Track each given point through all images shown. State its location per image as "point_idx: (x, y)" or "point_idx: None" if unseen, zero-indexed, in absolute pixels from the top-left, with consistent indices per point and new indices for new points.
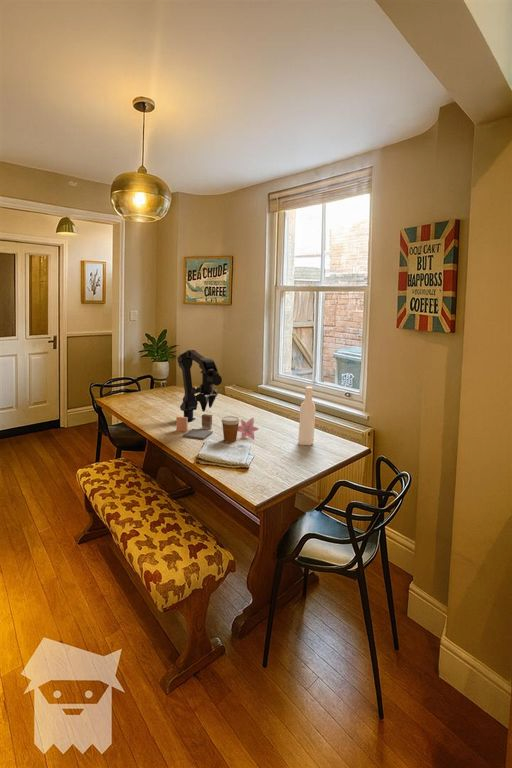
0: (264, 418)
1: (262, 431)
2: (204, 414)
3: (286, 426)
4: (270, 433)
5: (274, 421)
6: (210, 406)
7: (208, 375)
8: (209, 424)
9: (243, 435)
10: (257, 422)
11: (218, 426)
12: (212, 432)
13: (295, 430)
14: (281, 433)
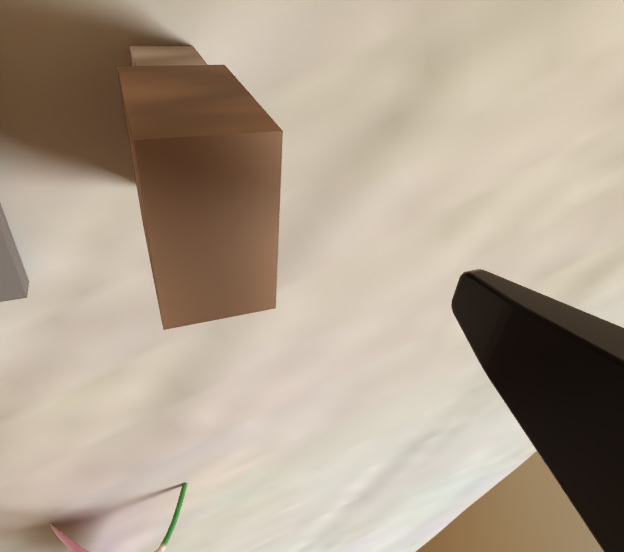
0: None
1: (307, 493)
2: (246, 163)
3: (431, 500)
4: (284, 530)
5: (514, 430)
6: (471, 323)
7: None
8: (143, 225)
9: (79, 547)
10: (492, 385)
11: (328, 209)
12: (19, 289)
13: (374, 546)
14: (305, 549)
